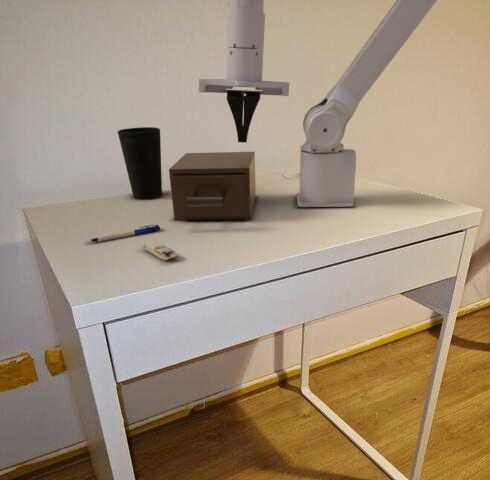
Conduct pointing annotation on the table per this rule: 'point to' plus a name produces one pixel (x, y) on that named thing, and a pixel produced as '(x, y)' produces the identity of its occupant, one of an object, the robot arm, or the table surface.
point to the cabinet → (218, 165)
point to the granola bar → (160, 250)
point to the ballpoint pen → (128, 233)
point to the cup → (142, 160)
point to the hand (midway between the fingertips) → (242, 141)
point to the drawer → (210, 195)
